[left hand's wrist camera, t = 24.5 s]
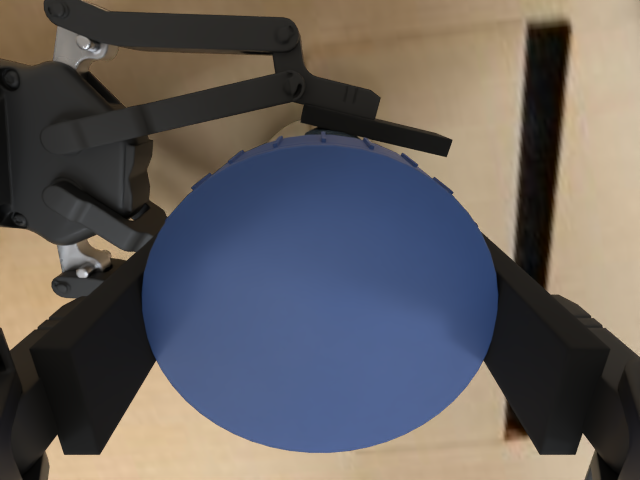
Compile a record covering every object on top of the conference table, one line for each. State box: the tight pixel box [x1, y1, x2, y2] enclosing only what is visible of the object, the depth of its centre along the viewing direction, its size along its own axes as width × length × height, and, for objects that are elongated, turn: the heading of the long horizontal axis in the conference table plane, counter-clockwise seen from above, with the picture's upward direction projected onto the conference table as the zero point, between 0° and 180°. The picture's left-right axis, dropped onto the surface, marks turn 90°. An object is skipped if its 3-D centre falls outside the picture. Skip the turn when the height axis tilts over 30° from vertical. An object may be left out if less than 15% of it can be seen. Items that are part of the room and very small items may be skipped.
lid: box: [142, 132, 498, 453], centre depth 11 cm, size 10×10×2 cm
